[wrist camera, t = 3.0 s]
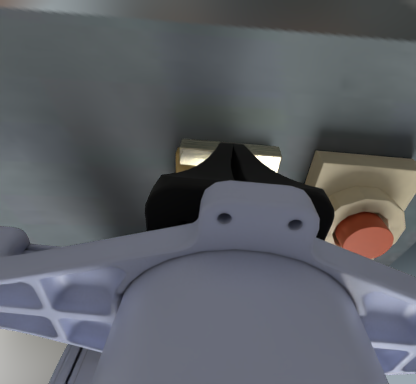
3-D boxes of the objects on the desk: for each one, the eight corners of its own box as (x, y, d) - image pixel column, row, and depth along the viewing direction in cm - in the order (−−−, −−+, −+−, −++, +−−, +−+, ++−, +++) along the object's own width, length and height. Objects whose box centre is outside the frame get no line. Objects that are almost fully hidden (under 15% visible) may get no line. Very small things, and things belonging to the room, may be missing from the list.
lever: (183, 132, 15) (177, 153, 13) (277, 140, 15) (284, 163, 13) (183, 242, 21) (179, 267, 20) (249, 248, 21) (251, 273, 19)
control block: (315, 150, 21) (331, 174, 18) (412, 158, 21) (446, 184, 18) (286, 237, 27) (294, 268, 24) (363, 244, 27) (382, 276, 24)
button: (344, 209, 20) (353, 224, 19) (390, 213, 20) (403, 229, 19) (328, 242, 22) (336, 258, 21) (370, 246, 22) (381, 262, 21)
